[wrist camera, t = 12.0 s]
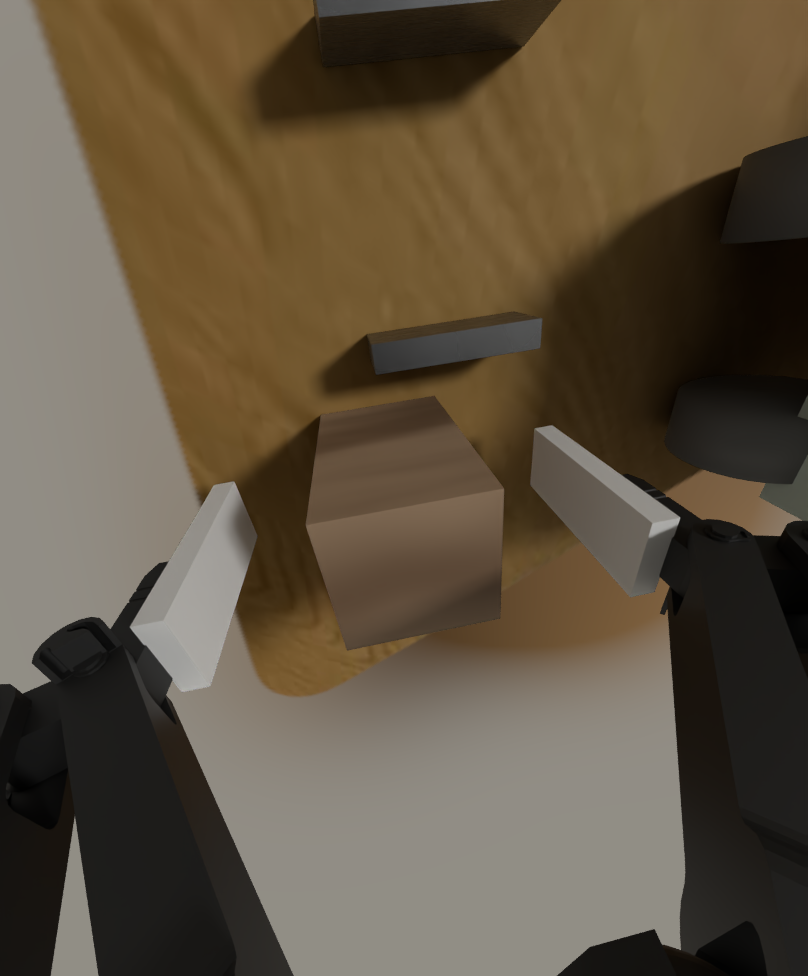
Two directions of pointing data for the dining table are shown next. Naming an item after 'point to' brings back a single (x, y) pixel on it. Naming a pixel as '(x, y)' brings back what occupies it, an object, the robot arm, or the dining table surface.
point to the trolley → (754, 398)
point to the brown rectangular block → (404, 523)
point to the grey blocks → (420, 33)
